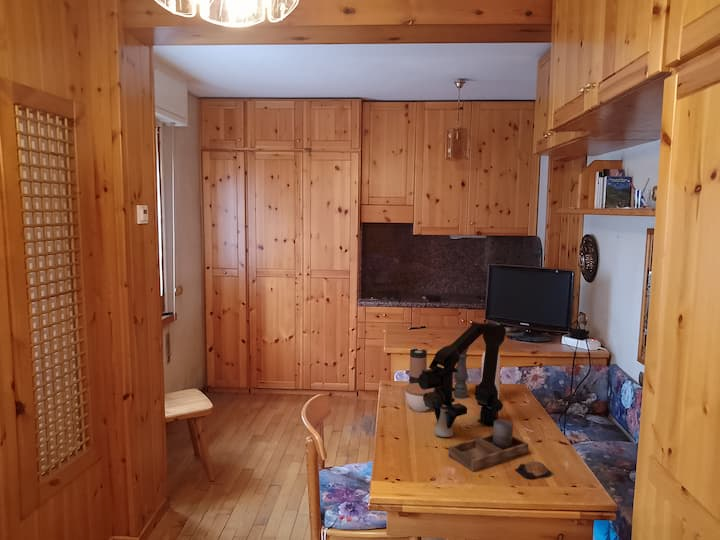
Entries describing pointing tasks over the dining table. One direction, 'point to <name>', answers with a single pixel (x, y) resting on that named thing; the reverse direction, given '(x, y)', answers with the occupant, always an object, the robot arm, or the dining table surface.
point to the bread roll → (533, 470)
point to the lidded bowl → (416, 397)
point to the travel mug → (417, 364)
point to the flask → (443, 424)
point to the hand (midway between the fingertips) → (443, 425)
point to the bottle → (497, 378)
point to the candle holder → (461, 377)
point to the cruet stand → (489, 448)
